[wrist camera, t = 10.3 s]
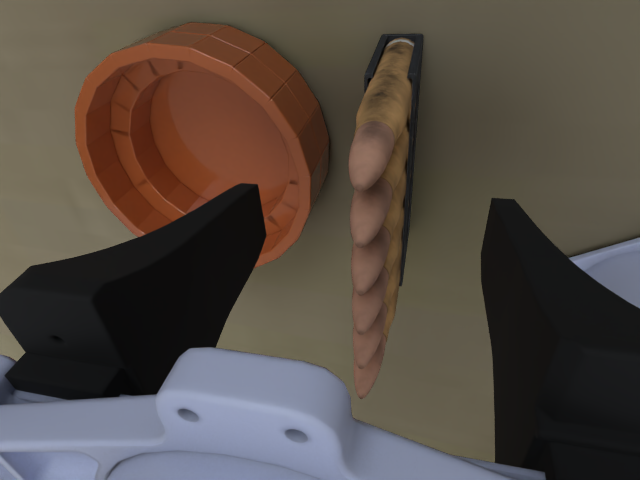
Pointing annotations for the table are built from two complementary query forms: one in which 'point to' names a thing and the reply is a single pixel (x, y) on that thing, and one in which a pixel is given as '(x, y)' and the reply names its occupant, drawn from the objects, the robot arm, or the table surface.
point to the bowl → (202, 130)
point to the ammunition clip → (382, 195)
